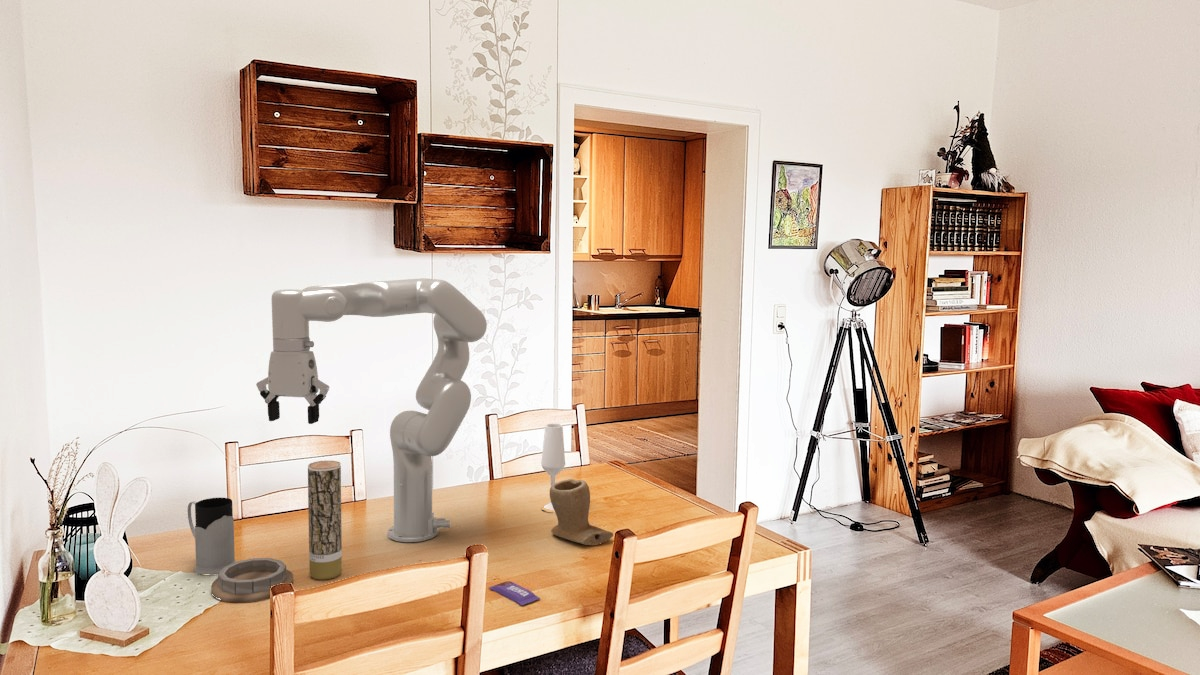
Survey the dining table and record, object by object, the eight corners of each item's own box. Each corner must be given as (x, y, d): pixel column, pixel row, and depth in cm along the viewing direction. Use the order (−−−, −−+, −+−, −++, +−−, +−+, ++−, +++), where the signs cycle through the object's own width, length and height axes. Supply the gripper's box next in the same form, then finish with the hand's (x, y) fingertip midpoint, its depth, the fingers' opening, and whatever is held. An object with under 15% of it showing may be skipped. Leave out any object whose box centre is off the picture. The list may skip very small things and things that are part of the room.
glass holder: (208, 578, 175) (206, 511, 173) (171, 563, 182) (169, 499, 180) (245, 565, 182) (243, 501, 180) (208, 551, 189) (206, 490, 188)
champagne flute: (568, 508, 228) (570, 425, 225) (555, 514, 222) (556, 429, 219) (549, 503, 231) (551, 421, 228) (535, 509, 225) (537, 425, 223)
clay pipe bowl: (539, 537, 205) (540, 479, 203) (573, 526, 213) (574, 471, 211) (580, 554, 194) (581, 493, 192) (614, 542, 202) (616, 484, 201)
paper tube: (331, 582, 174) (330, 469, 171) (303, 579, 176) (301, 467, 173) (347, 570, 181) (346, 461, 178) (320, 567, 182) (318, 459, 179)
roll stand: (300, 570, 180) (300, 554, 180) (283, 601, 165) (283, 583, 164) (225, 572, 178) (224, 556, 177) (200, 604, 162) (199, 586, 162)
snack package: (540, 593, 168) (522, 600, 165) (540, 602, 168) (522, 610, 165) (506, 576, 176) (487, 583, 173) (506, 585, 176) (487, 592, 173)
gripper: (335, 345, 180) (337, 420, 182) (266, 341, 183) (269, 415, 185) (317, 349, 173) (319, 427, 175) (245, 346, 176) (248, 422, 178)
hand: (293, 421), depth 180 cm, fingers open, 9 cm apart
